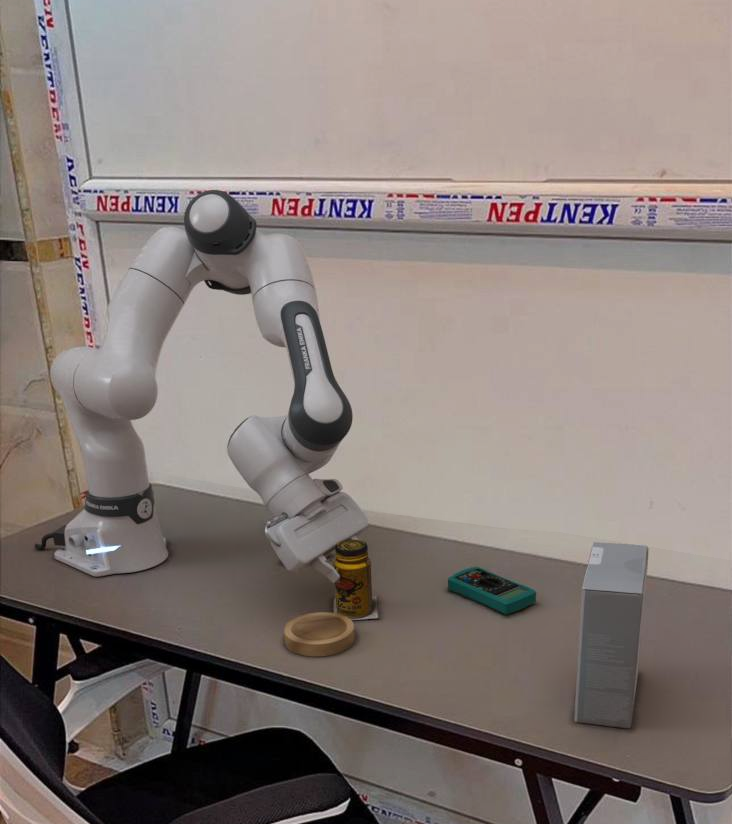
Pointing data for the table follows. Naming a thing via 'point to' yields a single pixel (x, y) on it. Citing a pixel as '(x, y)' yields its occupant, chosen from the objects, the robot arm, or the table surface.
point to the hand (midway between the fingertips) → (351, 571)
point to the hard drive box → (610, 634)
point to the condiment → (354, 581)
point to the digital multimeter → (491, 590)
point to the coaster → (319, 634)
